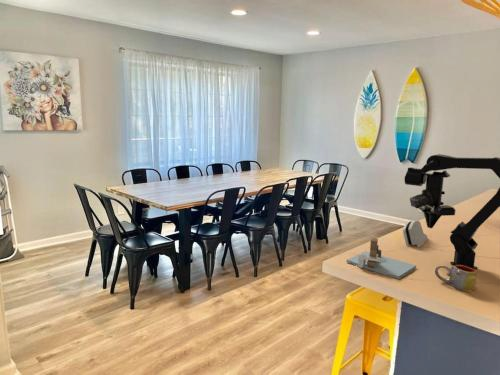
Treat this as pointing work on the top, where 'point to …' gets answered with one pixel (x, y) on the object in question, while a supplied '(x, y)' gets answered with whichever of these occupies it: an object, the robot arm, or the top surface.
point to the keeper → (363, 258)
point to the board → (386, 266)
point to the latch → (374, 252)
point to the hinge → (414, 234)
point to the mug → (459, 277)
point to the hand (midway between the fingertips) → (429, 227)
